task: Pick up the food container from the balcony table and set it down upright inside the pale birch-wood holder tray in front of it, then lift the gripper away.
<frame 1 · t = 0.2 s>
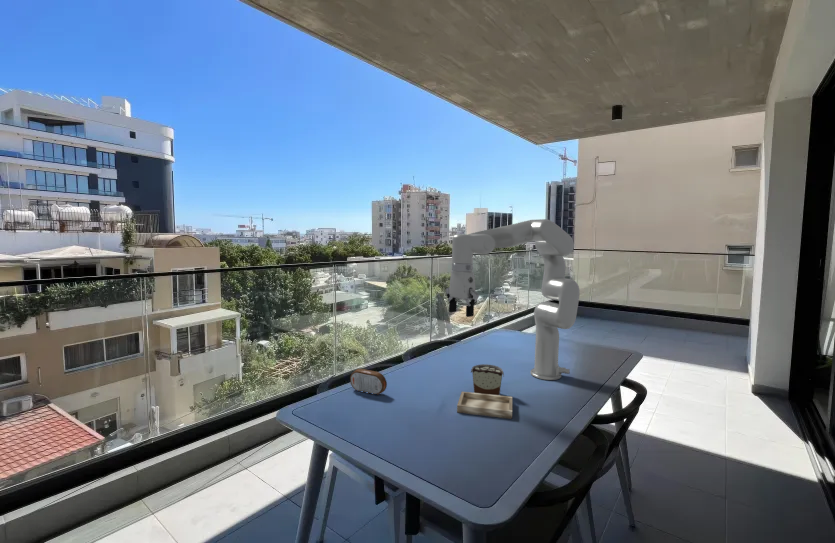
hand: (461, 314, 144), 30 cm above the table, tool pointing down, fingers open, 9 cm apart
holder tray: (485, 407, 135), on the table
tin: (367, 393, 147), on the table
food container: (487, 392, 148), on the table
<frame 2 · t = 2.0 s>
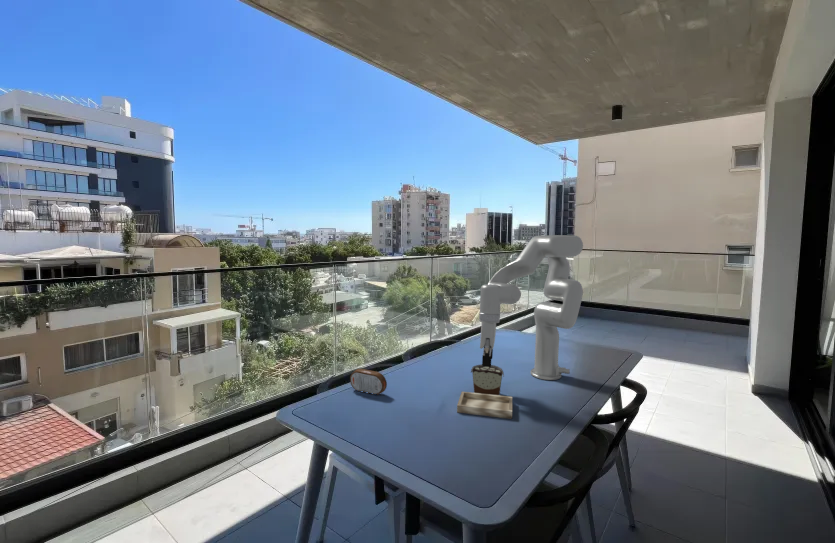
hand: (487, 362, 147), 12 cm above the table, tool pointing down, fingers open, 9 cm apart
nothing on the table moved.
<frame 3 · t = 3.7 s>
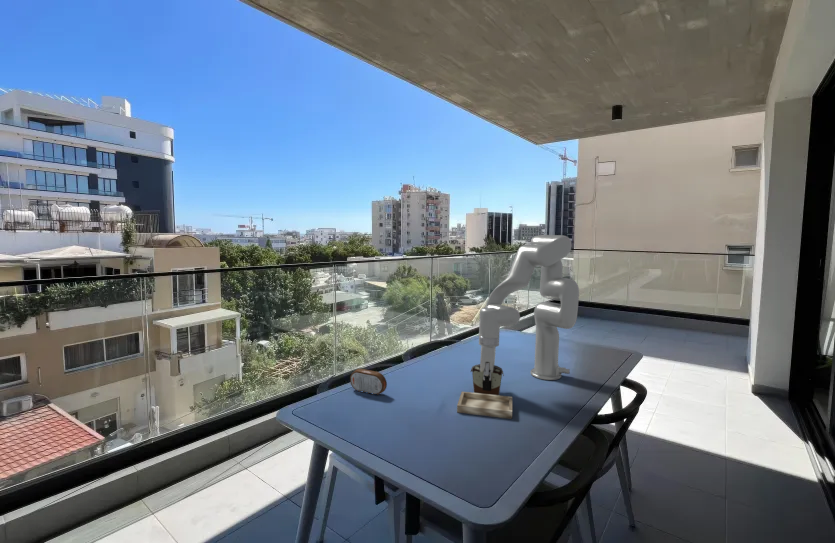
hand: (487, 386, 148), 2 cm above the table, tool pointing down, fingers closed on food container, 5 cm apart
food container: (487, 392, 148), on the table, touching gripper
everything else where it was.
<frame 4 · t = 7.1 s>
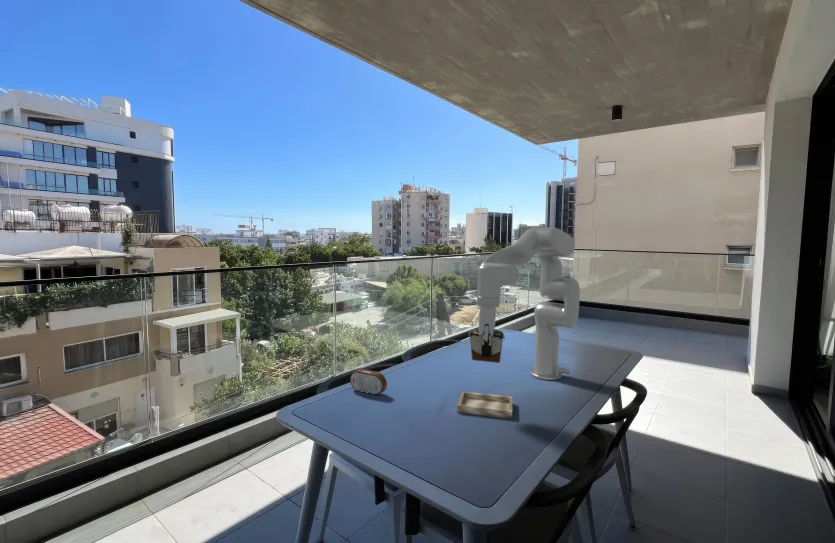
hand: (486, 353, 133), 19 cm above the table, tool pointing down, fingers closed on food container, 5 cm apart
food container: (487, 359, 134), point 17 cm above the table, touching gripper
everything else where it was.
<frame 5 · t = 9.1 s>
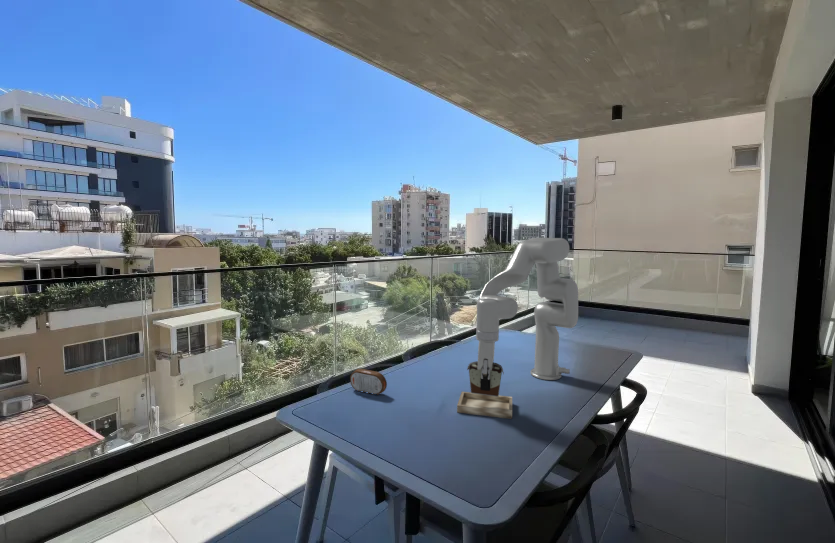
hand: (485, 386, 134), 8 cm above the table, tool pointing down, fingers closed on food container, 5 cm apart
food container: (485, 392, 135), point 5 cm above the table, touching gripper
everything else where it was.
when the fingers open (5 cm above the table, at t = 10.6 s): food container drops 2 cm, resting on holder tray.
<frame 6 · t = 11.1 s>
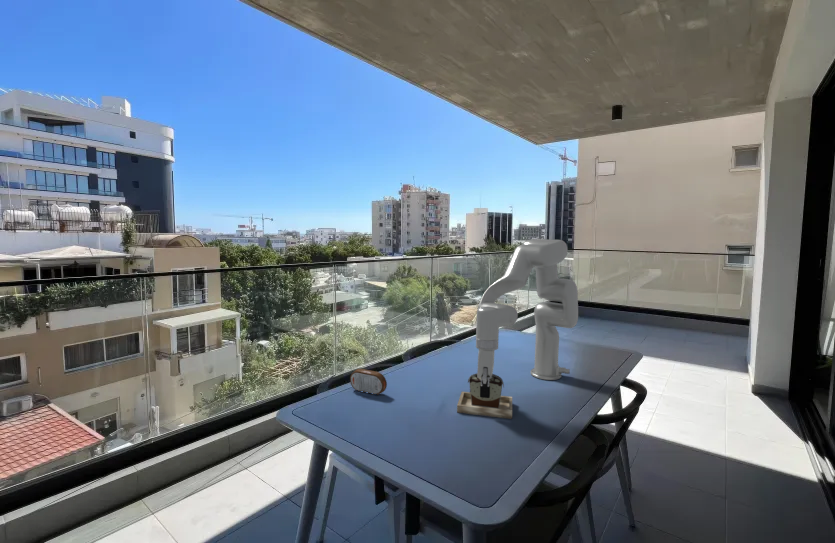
hand: (485, 391, 134), 6 cm above the table, tool pointing down, fingers open, 9 cm apart
food container: (486, 403, 136), point 1 cm above the table, touching holder tray
everything else where it was.
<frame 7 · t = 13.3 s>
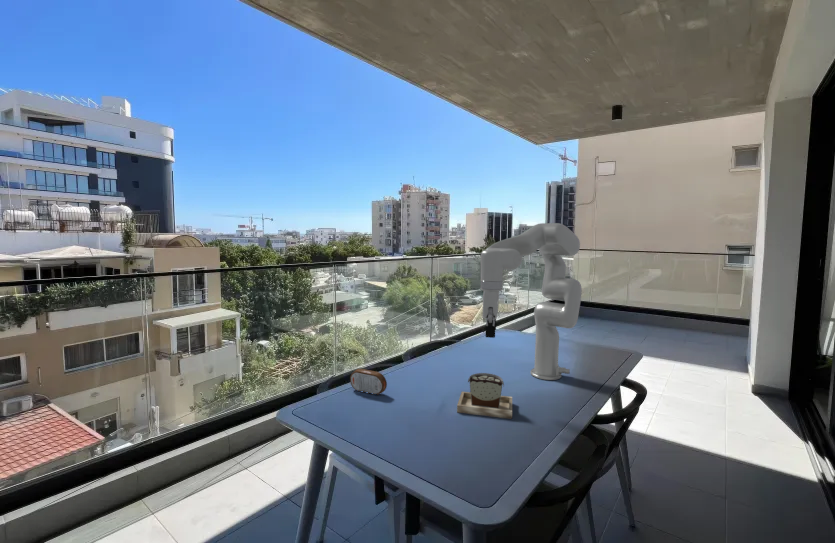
hand: (490, 333, 137), 25 cm above the table, tool pointing down, fingers open, 9 cm apart
nothing on the table moved.
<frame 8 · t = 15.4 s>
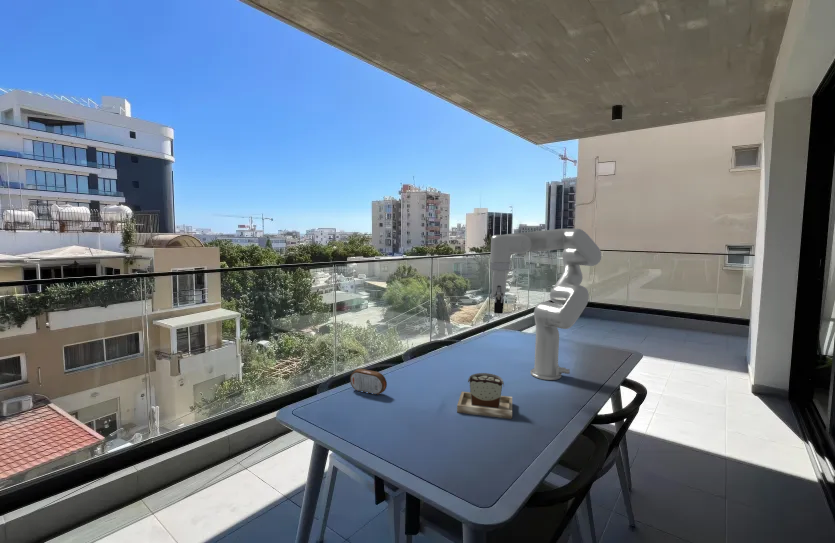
hand: (498, 310, 151), 30 cm above the table, tool pointing down, fingers open, 9 cm apart
nothing on the table moved.
at the end: food container 1.9 cm off-centre on the holder tray, point 0.6 cm above the holder tray's base; food container tilted 0°; the gripper is holding nothing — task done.
